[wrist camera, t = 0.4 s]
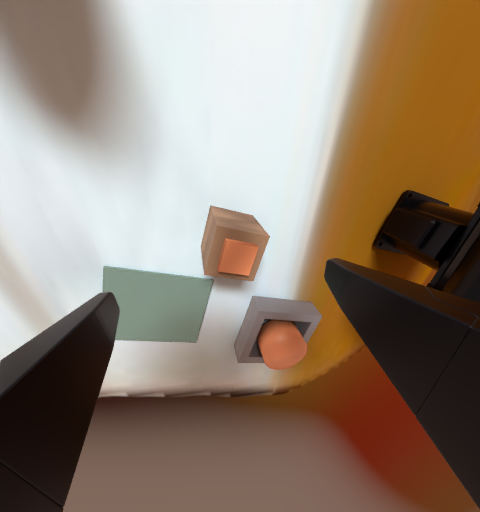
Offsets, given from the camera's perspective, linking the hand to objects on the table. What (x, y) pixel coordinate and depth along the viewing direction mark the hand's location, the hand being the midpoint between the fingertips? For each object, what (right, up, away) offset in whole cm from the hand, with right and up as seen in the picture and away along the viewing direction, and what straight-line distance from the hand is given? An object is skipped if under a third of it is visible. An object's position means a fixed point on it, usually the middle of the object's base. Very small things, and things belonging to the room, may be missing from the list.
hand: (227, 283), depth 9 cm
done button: (+5, -8, +17) cm, 20 cm away
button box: (+5, -8, +19) cm, 21 cm away
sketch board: (-8, -4, +14) cm, 17 cm away
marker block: (-1, +3, +11) cm, 12 cm away
